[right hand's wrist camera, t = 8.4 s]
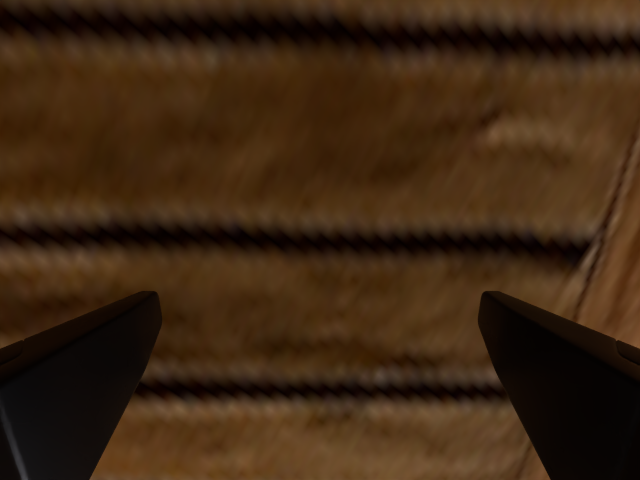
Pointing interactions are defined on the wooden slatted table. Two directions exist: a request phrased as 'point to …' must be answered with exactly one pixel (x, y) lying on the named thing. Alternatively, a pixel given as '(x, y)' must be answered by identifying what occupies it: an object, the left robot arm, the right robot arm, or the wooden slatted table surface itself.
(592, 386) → the right robot arm
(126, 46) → the wooden slatted table surface
